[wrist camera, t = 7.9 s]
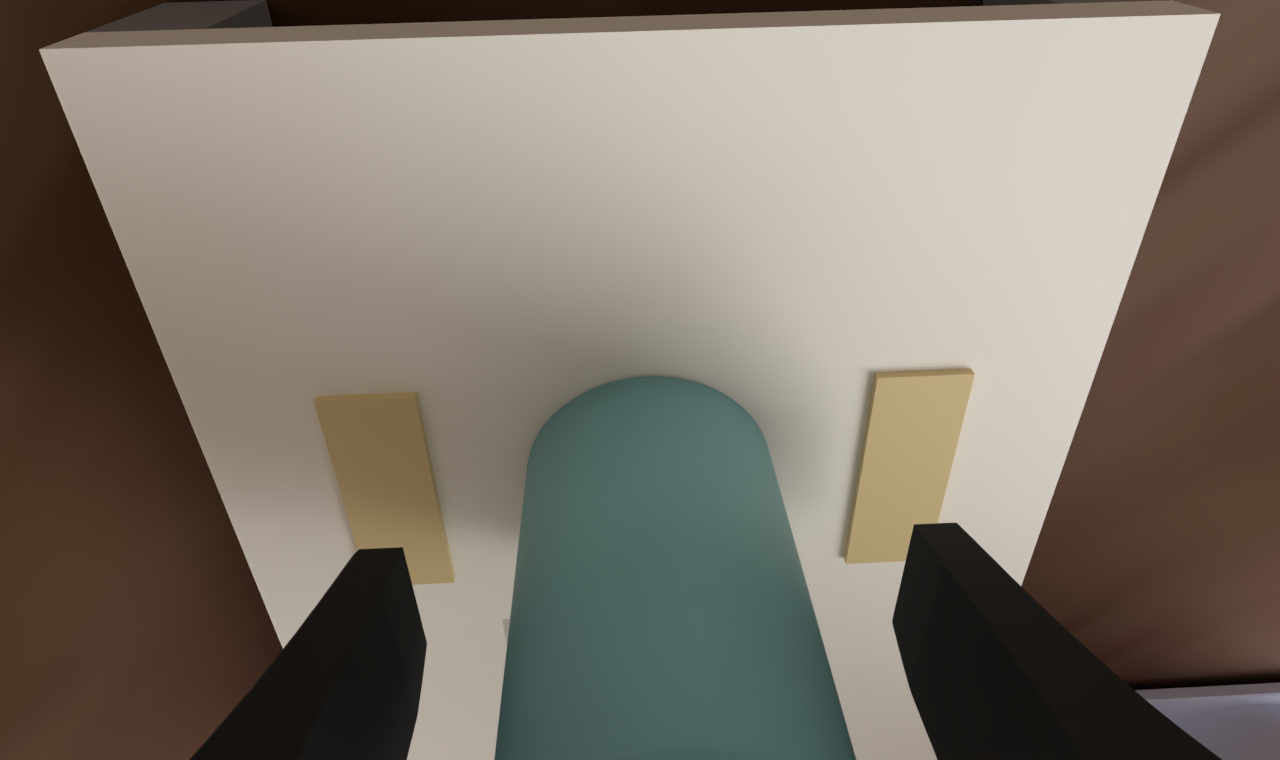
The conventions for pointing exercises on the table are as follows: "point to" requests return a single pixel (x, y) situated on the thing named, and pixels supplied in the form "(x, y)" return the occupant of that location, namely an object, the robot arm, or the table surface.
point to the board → (631, 276)
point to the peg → (661, 591)
